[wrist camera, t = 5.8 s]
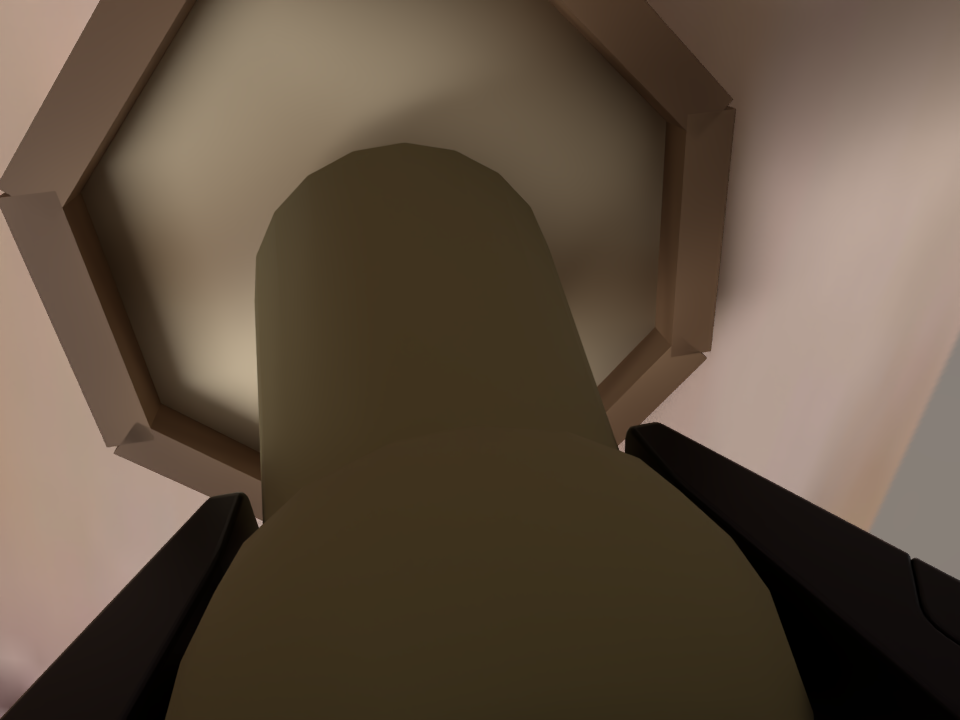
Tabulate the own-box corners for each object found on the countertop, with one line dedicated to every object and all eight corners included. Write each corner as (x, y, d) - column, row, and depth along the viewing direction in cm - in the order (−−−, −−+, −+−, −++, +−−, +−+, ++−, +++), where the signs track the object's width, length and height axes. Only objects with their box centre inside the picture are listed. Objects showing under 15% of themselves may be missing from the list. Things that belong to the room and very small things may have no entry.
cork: (196, 334, 14) (-162, 1166, 4) (364, 71, 12) (428, 453, 2) (441, 459, 16) (575, 1152, 7) (610, 257, 14) (1134, 810, 5)
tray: (675, 451, 20) (700, 487, 18) (177, 538, 18) (163, 584, 17) (723, -145, 13) (769, -160, 11) (-81, -82, 11) (-141, -90, 10)
